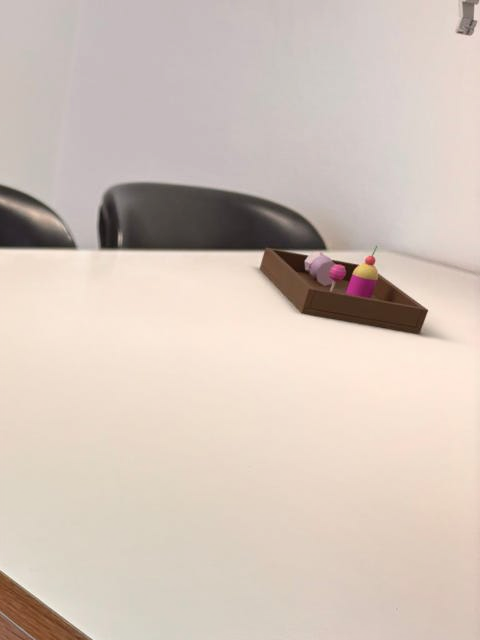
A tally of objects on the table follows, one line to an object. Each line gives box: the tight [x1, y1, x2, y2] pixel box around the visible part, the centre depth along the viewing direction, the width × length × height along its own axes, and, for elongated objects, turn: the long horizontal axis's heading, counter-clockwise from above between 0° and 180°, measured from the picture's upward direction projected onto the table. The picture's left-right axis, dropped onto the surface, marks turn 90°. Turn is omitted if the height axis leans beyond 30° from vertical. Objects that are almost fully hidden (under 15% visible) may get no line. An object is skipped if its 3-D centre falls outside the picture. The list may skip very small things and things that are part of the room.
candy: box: [305, 245, 379, 298], centre depth 123 cm, size 18×8×6 cm, turn 0°
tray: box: [259, 247, 429, 334], centre depth 124 cm, size 13×21×3 cm, turn 0°
